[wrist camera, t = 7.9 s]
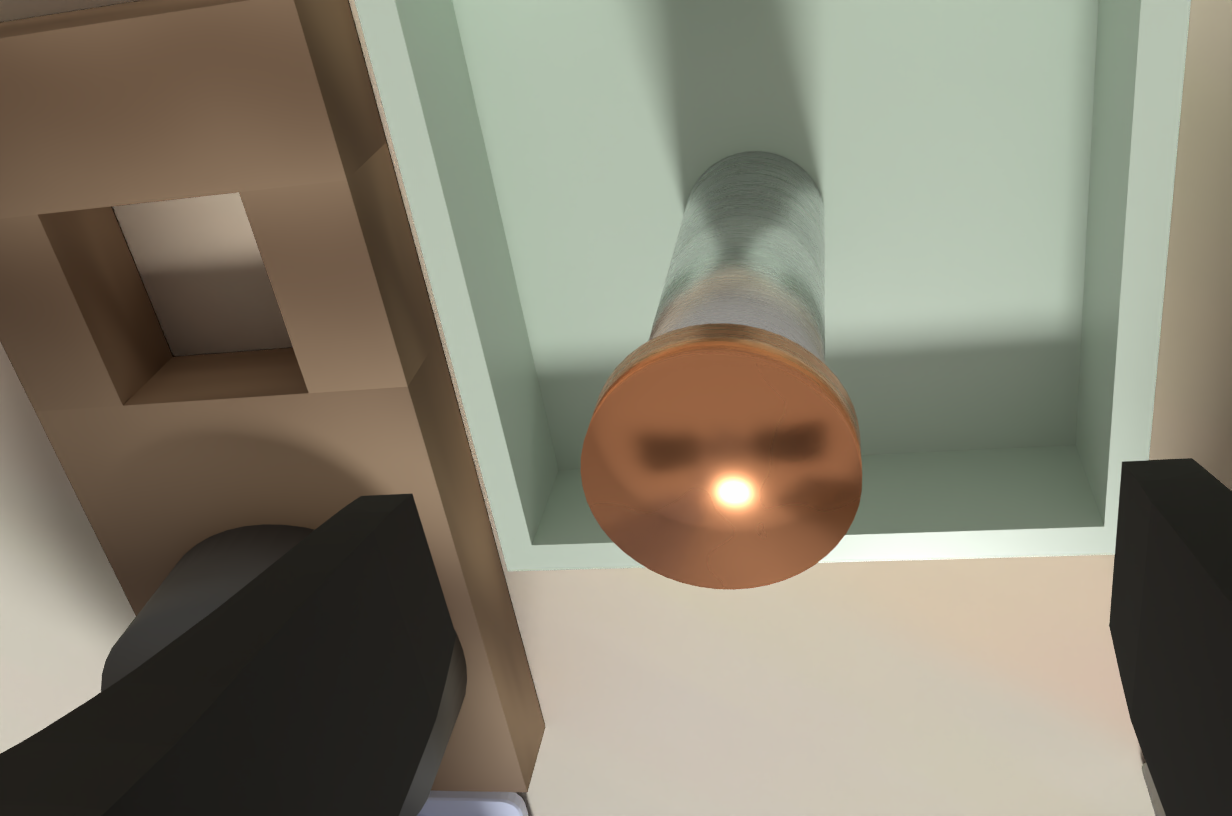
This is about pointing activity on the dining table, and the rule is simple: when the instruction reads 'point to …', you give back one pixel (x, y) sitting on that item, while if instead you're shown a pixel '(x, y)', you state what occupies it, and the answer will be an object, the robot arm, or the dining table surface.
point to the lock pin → (731, 395)
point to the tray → (853, 236)
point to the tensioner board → (250, 380)
